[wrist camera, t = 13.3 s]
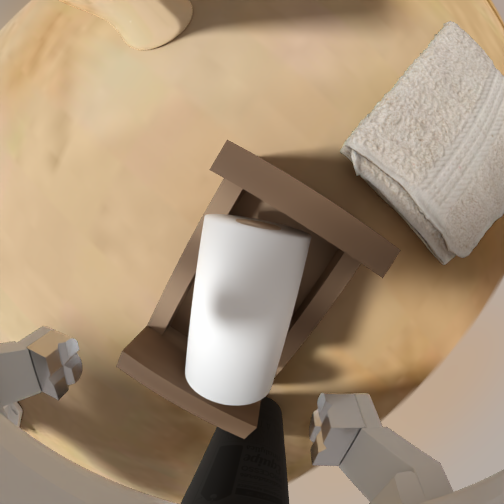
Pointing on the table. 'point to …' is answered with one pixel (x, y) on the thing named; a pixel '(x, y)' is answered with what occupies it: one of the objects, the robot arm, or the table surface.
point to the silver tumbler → (141, 19)
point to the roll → (242, 306)
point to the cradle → (309, 295)
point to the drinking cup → (244, 465)
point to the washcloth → (439, 145)
